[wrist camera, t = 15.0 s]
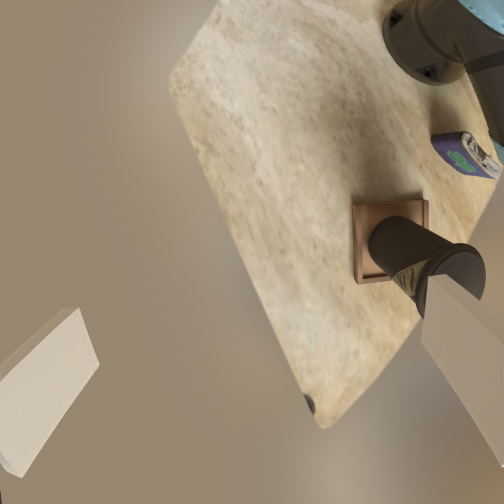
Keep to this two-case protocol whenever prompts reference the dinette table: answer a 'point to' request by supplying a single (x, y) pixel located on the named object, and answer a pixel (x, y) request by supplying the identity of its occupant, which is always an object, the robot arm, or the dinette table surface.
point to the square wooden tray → (364, 224)
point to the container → (423, 259)
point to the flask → (465, 154)
